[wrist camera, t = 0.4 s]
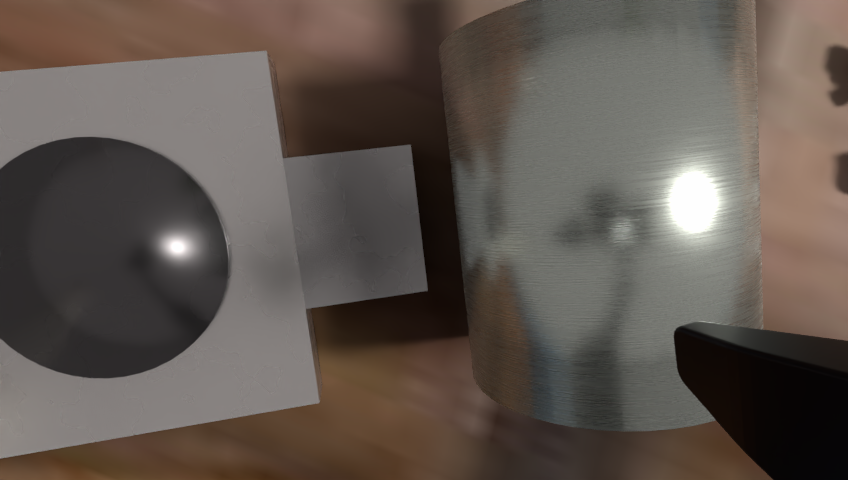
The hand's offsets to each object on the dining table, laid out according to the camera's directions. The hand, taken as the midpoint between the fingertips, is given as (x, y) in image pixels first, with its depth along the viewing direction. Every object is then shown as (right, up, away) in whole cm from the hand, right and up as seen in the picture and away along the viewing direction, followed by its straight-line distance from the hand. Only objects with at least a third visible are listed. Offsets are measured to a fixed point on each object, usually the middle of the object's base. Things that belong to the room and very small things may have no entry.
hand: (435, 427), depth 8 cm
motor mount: (-5, +5, +13) cm, 15 cm away
